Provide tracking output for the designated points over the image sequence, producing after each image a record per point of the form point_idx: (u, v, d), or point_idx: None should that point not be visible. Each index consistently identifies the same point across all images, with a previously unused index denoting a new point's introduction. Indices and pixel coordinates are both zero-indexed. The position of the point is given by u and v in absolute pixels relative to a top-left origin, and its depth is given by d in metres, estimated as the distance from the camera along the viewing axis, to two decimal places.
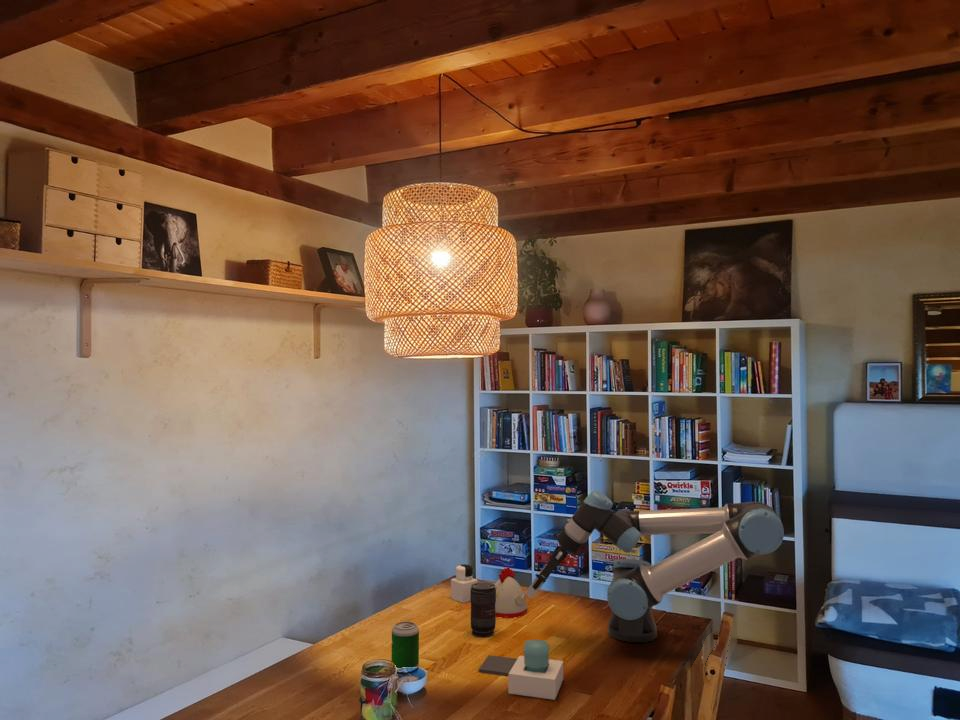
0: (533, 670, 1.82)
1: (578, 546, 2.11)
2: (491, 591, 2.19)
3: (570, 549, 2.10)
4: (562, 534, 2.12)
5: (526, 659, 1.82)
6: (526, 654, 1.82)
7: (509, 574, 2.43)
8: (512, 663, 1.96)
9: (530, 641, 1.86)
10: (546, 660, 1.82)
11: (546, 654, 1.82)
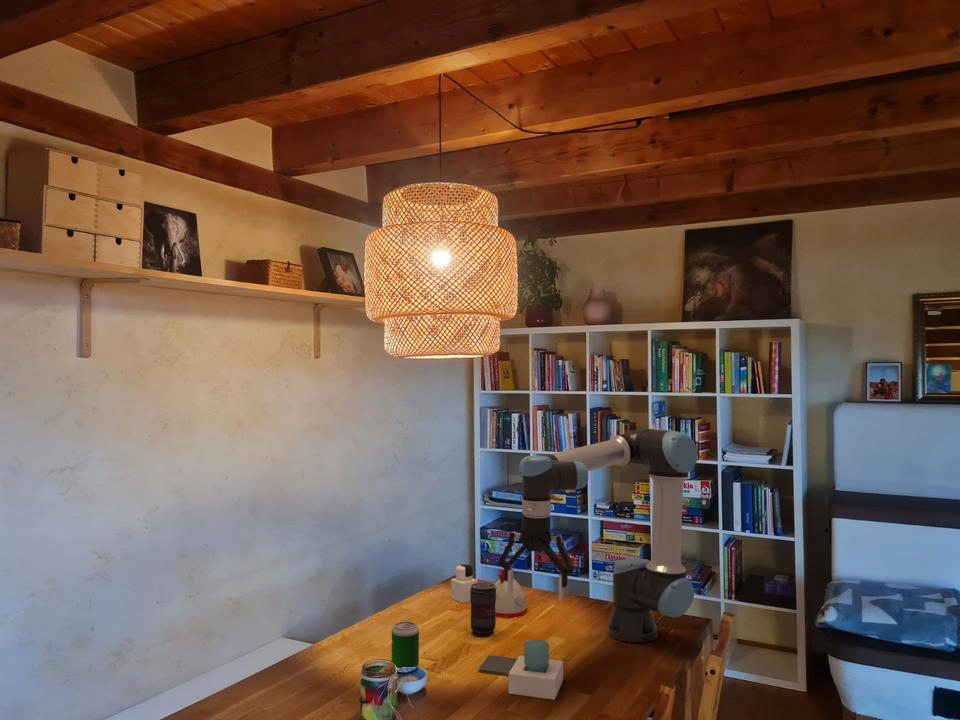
0: (533, 670, 1.82)
1: None
2: (491, 591, 2.19)
3: None
4: (542, 522, 1.82)
5: (525, 659, 1.83)
6: (526, 654, 1.82)
7: None
8: (512, 663, 1.96)
9: (530, 641, 1.86)
10: (546, 660, 1.82)
11: (546, 654, 1.82)
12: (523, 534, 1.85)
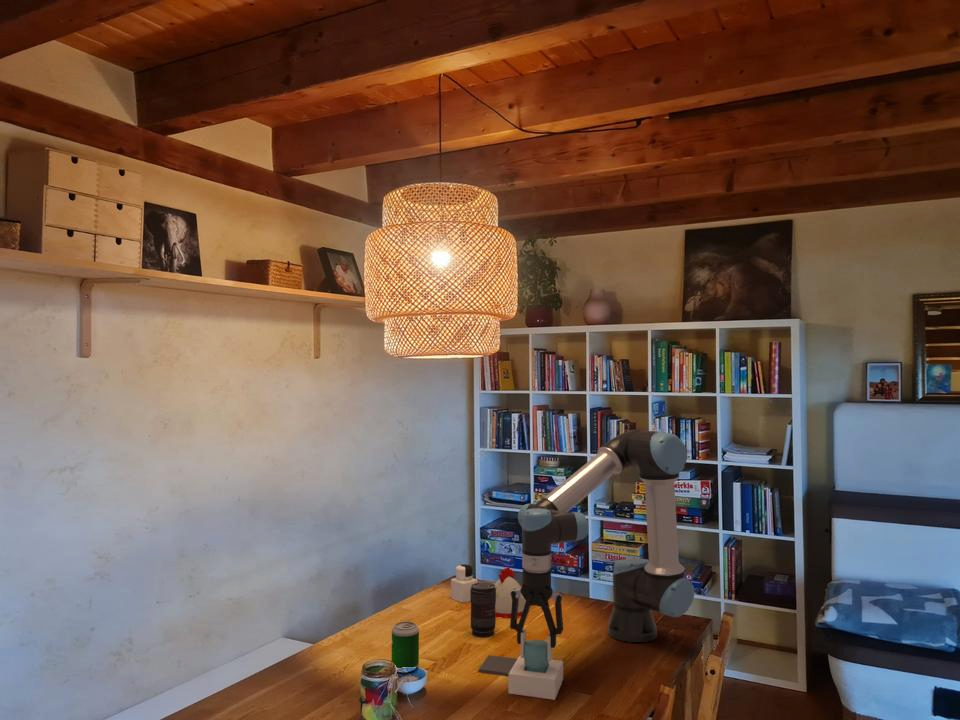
0: (533, 670, 1.82)
1: None
2: (491, 591, 2.19)
3: None
4: (543, 577, 1.81)
5: (526, 659, 1.82)
6: (526, 654, 1.82)
7: (509, 574, 2.43)
8: (512, 663, 1.96)
9: (530, 641, 1.86)
10: (546, 660, 1.82)
11: (546, 654, 1.82)
12: (524, 588, 1.84)
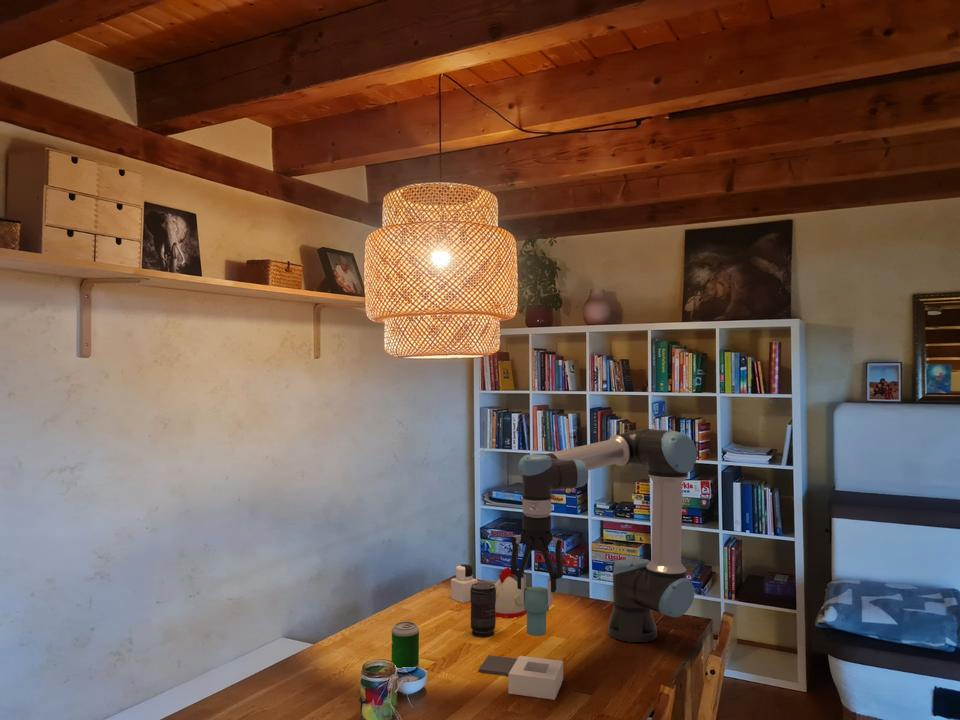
0: (533, 615, 1.82)
1: None
2: (491, 591, 2.19)
3: None
4: (543, 521, 1.81)
5: (526, 604, 1.83)
6: (526, 599, 1.83)
7: (509, 574, 2.43)
8: (512, 663, 1.96)
9: (530, 588, 1.86)
10: (546, 605, 1.82)
11: (546, 599, 1.82)
12: (524, 533, 1.84)
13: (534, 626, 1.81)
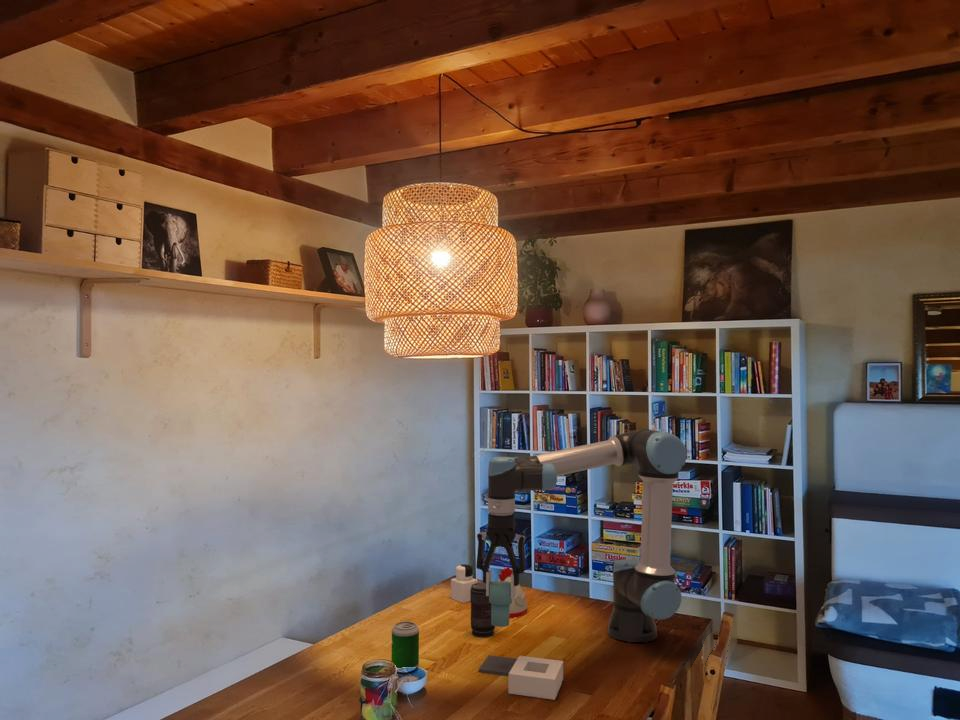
0: (497, 607, 1.94)
1: None
2: None
3: None
4: (507, 519, 1.93)
5: (490, 597, 1.95)
6: (491, 592, 1.95)
7: (509, 574, 2.43)
8: (512, 663, 1.96)
9: (495, 582, 1.98)
10: (509, 598, 1.94)
11: (509, 592, 1.94)
12: (489, 530, 1.96)
13: (497, 618, 1.93)
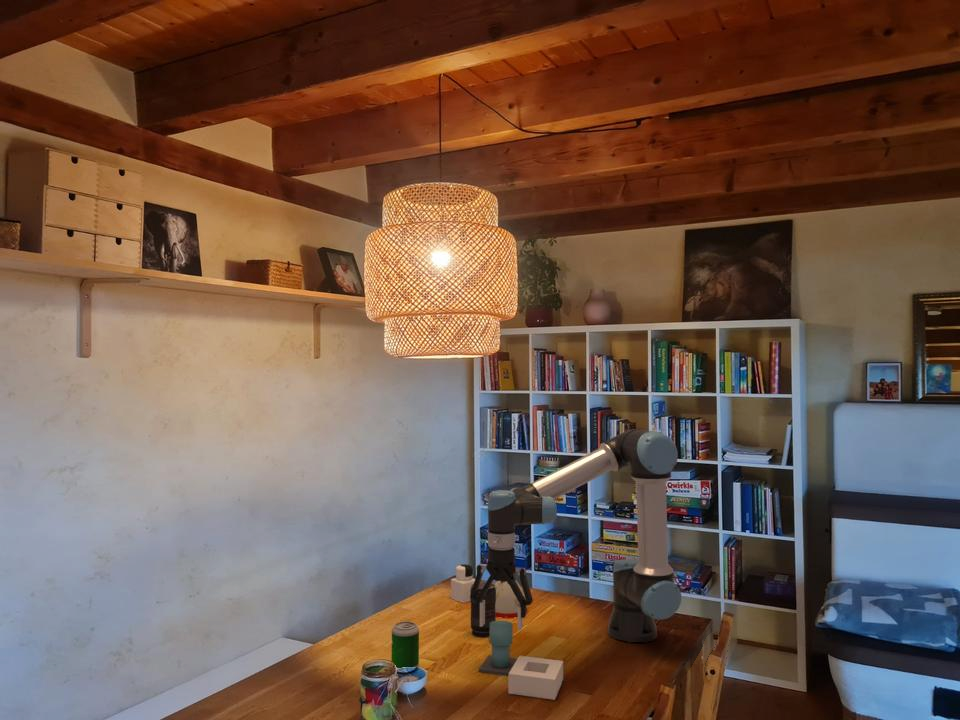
0: (497, 648, 1.93)
1: None
2: (491, 591, 2.19)
3: None
4: (507, 554, 1.93)
5: (490, 638, 1.94)
6: (491, 633, 1.94)
7: None
8: (512, 663, 1.96)
9: (495, 621, 1.98)
10: (509, 639, 1.94)
11: (510, 633, 1.94)
12: (489, 565, 1.96)
13: (498, 659, 1.93)
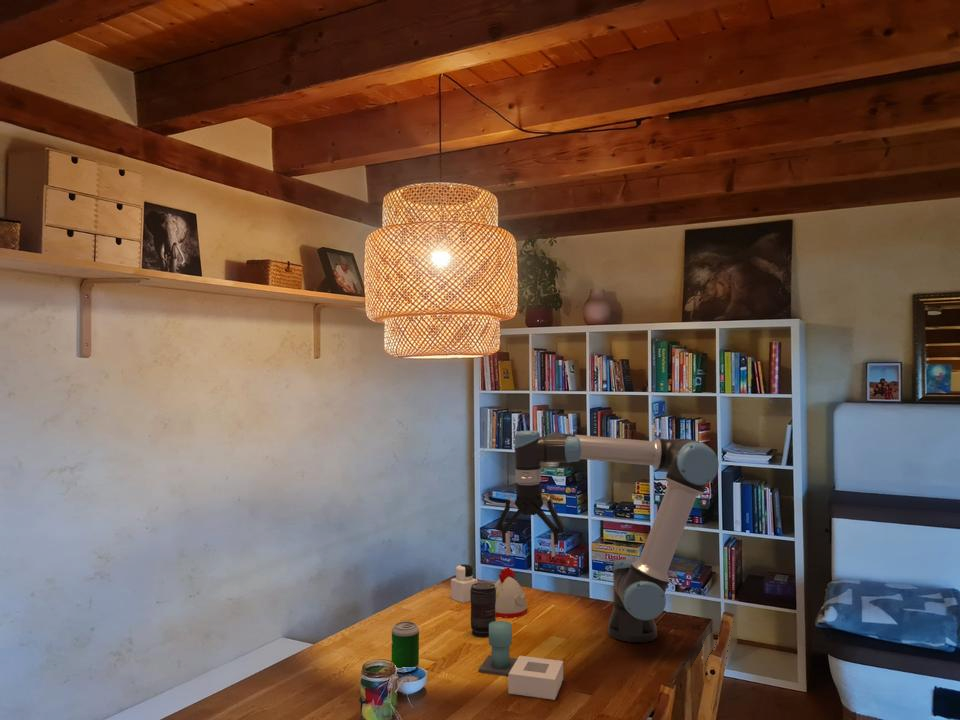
0: (497, 649, 1.93)
1: None
2: (491, 591, 2.19)
3: None
4: (535, 488, 2.06)
5: (490, 639, 1.94)
6: (490, 634, 1.94)
7: (509, 574, 2.43)
8: (512, 663, 1.96)
9: (495, 622, 1.98)
10: (509, 639, 1.94)
11: (509, 634, 1.94)
12: (518, 500, 2.09)
13: (498, 659, 1.93)
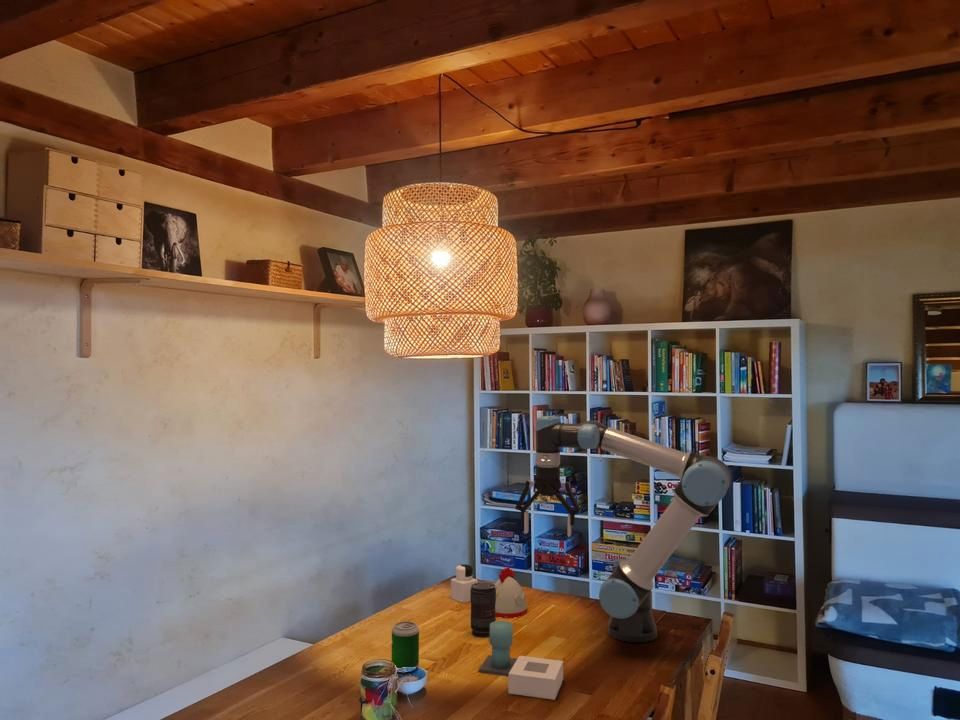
0: (497, 649, 1.93)
1: None
2: (491, 591, 2.19)
3: None
4: (553, 471, 2.16)
5: (490, 639, 1.94)
6: (491, 634, 1.94)
7: (509, 574, 2.43)
8: (512, 663, 1.96)
9: (496, 622, 1.97)
10: (509, 640, 1.93)
11: (510, 634, 1.93)
12: (537, 482, 2.19)
13: (498, 660, 1.93)
